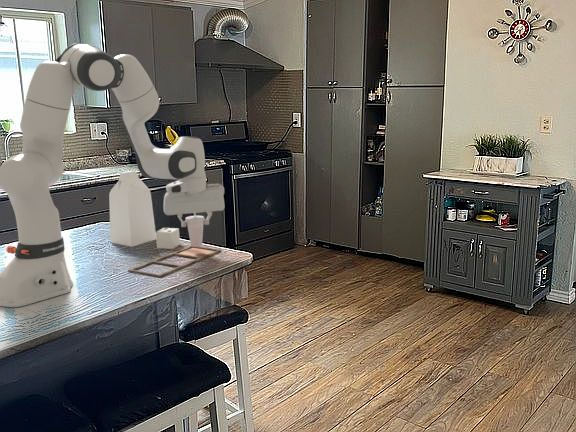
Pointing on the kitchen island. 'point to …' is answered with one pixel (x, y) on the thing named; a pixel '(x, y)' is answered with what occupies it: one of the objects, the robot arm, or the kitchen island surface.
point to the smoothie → (195, 229)
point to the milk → (131, 211)
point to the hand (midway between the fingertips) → (195, 225)
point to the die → (168, 238)
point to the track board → (188, 252)
